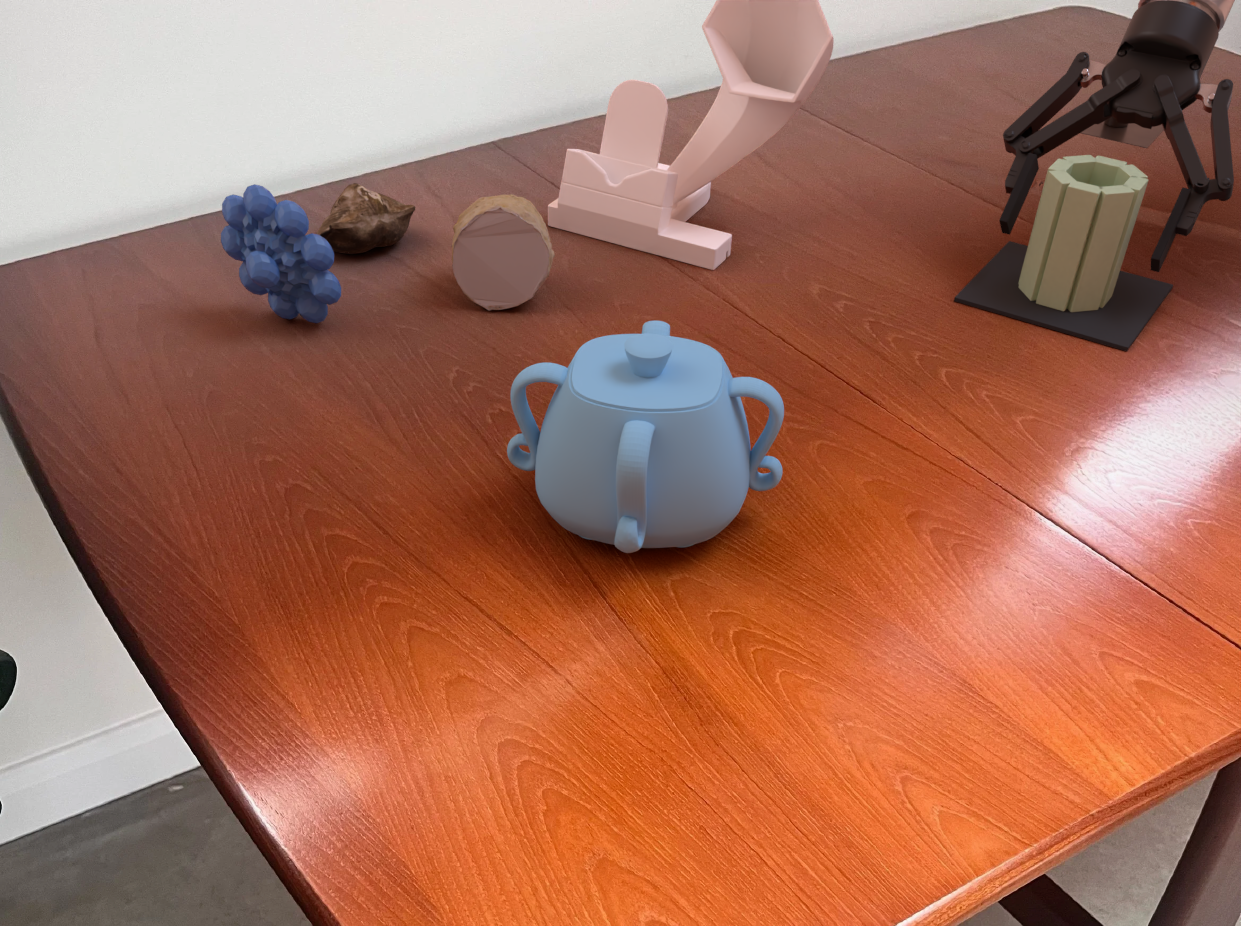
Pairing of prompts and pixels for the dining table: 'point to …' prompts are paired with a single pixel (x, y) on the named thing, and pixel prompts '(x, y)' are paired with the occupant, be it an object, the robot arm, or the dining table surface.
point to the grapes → (280, 254)
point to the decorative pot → (645, 440)
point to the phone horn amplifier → (733, 128)
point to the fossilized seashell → (364, 221)
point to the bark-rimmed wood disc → (501, 251)
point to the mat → (1104, 326)
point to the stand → (1124, 132)
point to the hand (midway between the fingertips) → (1077, 246)
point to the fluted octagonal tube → (1081, 232)
